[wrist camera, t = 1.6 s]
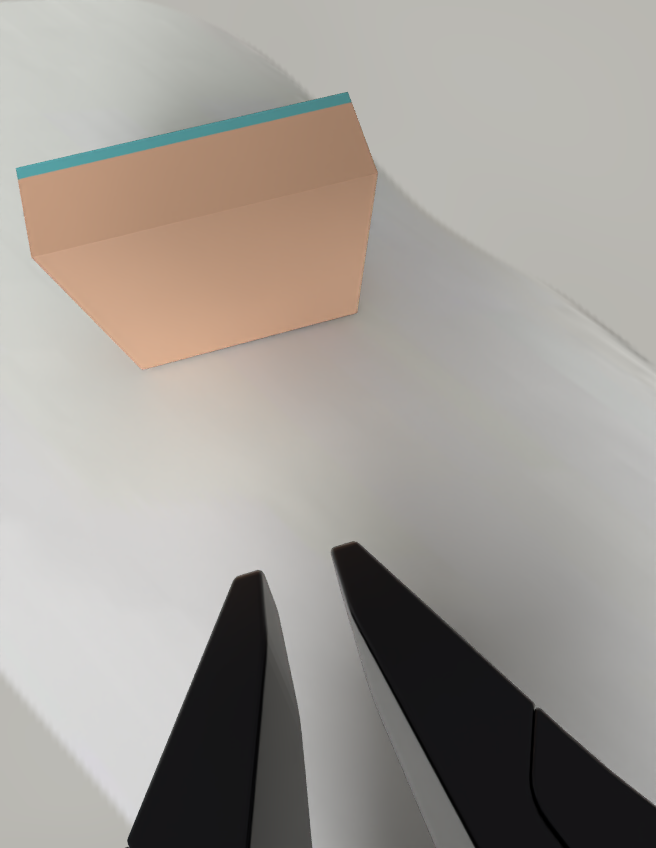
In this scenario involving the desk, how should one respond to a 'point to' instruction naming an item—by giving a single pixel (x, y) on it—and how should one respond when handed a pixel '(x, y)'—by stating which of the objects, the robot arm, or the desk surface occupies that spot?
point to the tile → (209, 229)
